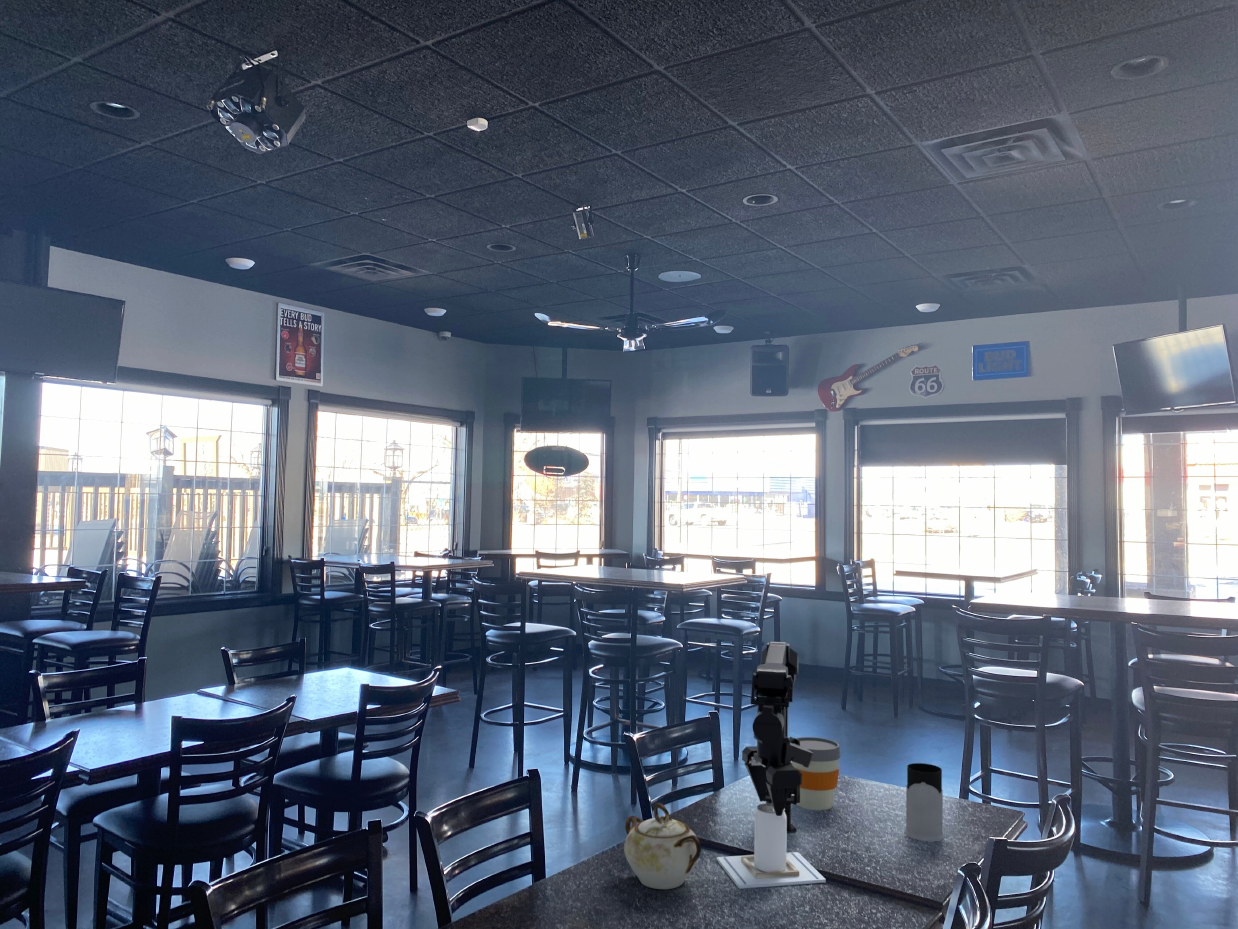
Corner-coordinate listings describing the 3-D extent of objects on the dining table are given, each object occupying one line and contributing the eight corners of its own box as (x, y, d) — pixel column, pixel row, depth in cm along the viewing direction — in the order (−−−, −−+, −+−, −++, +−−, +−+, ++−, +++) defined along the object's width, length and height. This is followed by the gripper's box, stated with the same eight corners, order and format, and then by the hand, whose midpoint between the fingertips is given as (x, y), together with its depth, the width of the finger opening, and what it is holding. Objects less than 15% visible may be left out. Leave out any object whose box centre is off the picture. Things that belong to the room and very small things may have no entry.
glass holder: (902, 838, 202) (902, 770, 203) (907, 818, 215) (907, 754, 216) (943, 844, 199) (944, 775, 200) (946, 823, 212) (946, 759, 213)
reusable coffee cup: (834, 816, 216) (834, 752, 216) (782, 807, 221) (783, 746, 222) (844, 800, 227) (845, 740, 228) (795, 793, 233) (796, 734, 233)
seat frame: (741, 860, 186) (741, 856, 186) (782, 858, 188) (782, 854, 188) (756, 878, 177) (756, 874, 177) (799, 875, 179) (799, 871, 179)
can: (786, 875, 179) (786, 814, 180) (753, 872, 180) (754, 812, 181) (786, 863, 185) (786, 804, 186) (754, 860, 187) (755, 801, 187)
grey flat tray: (716, 860, 188) (716, 856, 188) (797, 855, 191) (797, 851, 191) (738, 888, 174) (739, 885, 174) (825, 882, 178) (825, 878, 178)
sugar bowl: (599, 876, 179) (600, 799, 179) (650, 856, 189) (651, 784, 190) (673, 909, 165) (674, 826, 166) (724, 885, 175) (725, 807, 176)
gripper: (827, 741, 176) (826, 821, 176) (790, 718, 195) (789, 791, 194) (773, 743, 174) (772, 824, 173) (741, 720, 192) (740, 794, 192)
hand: (770, 807), depth 183 cm, fingers open, 9 cm apart
